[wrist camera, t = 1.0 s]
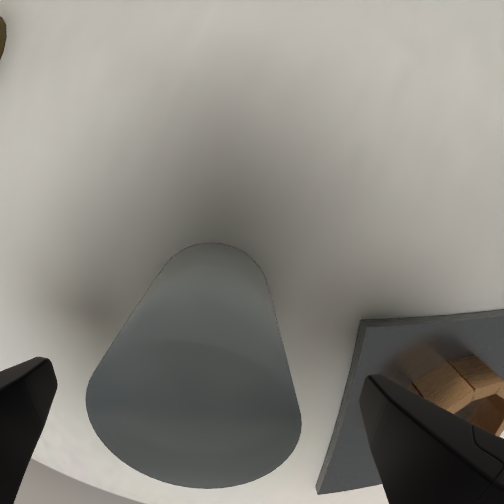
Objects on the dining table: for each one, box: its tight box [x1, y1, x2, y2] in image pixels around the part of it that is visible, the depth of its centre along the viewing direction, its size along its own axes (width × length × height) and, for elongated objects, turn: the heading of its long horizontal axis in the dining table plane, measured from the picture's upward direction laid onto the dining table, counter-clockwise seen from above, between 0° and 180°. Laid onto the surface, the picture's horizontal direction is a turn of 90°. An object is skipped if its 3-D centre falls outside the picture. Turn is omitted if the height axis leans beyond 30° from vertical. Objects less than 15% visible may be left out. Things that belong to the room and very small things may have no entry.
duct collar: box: [316, 310, 504, 495], centre depth 15 cm, size 14×14×4 cm
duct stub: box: [86, 243, 302, 489], centre depth 10 cm, size 5×5×8 cm
